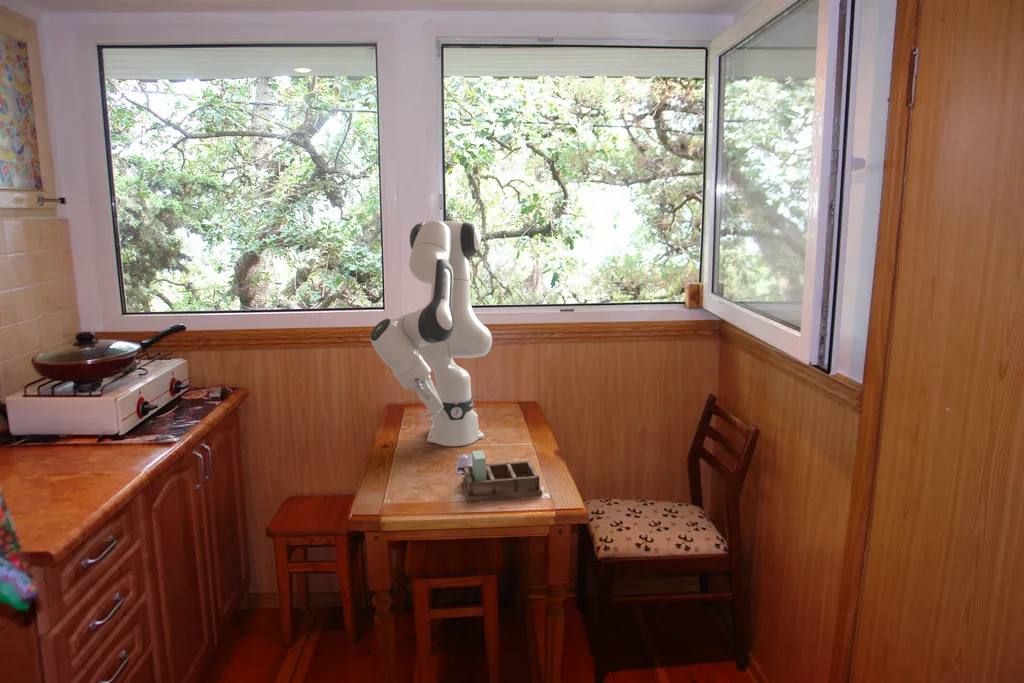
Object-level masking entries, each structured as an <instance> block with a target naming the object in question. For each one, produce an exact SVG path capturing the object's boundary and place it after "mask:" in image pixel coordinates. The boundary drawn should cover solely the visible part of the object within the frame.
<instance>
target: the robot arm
mask: <svg viewBox="0 0 1024 683" xmlns="http://www.w3.org/2000/svg"><path fill="white" fill-rule="evenodd" d="M481 239H482V238H481V233H480V229H479V226H477V224H476V223H475V222H471V221H467V220H465V221H458V220H457V221H456V220H444V221H439V220H429V221H427V222H420V223H417V224H415V225H414V226H413V227H412V228H411V231H410V234H409V244H410V245H409V246H410V249H411V252H410V255H409V257H410V258H409V261H408V262H409V264H408V265H409V270H410V272H411V273H412V275H413V276H414V277H415V278H416V279H417V280H419V281H420V282H422V283H425V284H427V285H431V290H430V299H429V300H430V301H429V302H428V303H427V304H425V306H424V307H423V308H421V309H417V310H415V311H412V312H409V313H407V314H405V315H401V316H400V317H397V318H385V319H383V320H381V321H379V322H378V323H377V324H376V325H375V326H374V327H373V329H372V330H371V331H370V335H369V339H370V342H371V345H372V347H373V349H374V350H375V352H376V354H377V355H378V356H379V358H380V359H381V360H382V361H383V363H384V364H385V365H386V366H388V367H389V368H390V369H391V371H392V374H393V376H394V378H396V379H397V381H398V382H399V383H400V385H401V386H402V387H403V389H405V390H411V392H416V394H417V395H418V397H419V399H420V400H421V402H422V403H423V405H424V406H425V407H426V408H427V410H428V411H429V412H430V414H431V415H433V416H431V417H430V424H431V427H430V429H429V433H428V436H427V437H426V438H427V439H426V442H428V443H433V444H437V445H440V446H444V447H460V446H461V447H462V446H467V445H471V444H473V443H475V442H476V441H478V440H481V439H484V438H485V434H484V433H483V432H482V431H481V430H480V429H479V420H478V419H479V418H478V417H479V415H478V413H476V412H475V410H473V408H474V407H473V406H474V401H473V397H472V381H471V380H472V378H471V376H470V373H469V372H468V371H467V370H466V369H464V368H462V367H461V366H459V365H458V364H456V362H455V361H454V359H455V358H459V359H473V358H475V359H476V358H480V357H484V356H487V354H488V353H489V352H490V351H491V348H492V346H493V336H492V332H490V330H489V328H488V327H487V326H485V325H484V324H483V323H482V322H481V320H479V318H477V316H476V314H475V312H474V310H473V306H472V301H471V300H472V299H471V298H472V297H471V270H470V269H471V268H470V261H471V259H472V257H473V256H475V255H476V254H477V253H478V252H479V250H480V247H481V242H482V241H481ZM432 371H433V373H434V377H435V382H436V387H435V384H434V382H433V380H432V379H431V378H432V376H431V375H430V374H431V373H432Z"/></svg>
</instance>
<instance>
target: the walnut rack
mask: <svg viewBox="0 0 1024 683" xmlns="http://www.w3.org/2000/svg"><path fill="white" fill-rule="evenodd" d="M461 479H462V485H464V486H463V489H464V491H465V496H466V495H467V496H466V498H467V502H468V503H469V502H472V503H480V502H479V501H483V502H491V501H493V502H494V501H501V500H503V499H504V500H513V499H522V498H523V497H524V498H533V497H532V496H535V497H542V496H543V490H542V488H541V486H540V476H539V474H538V473H537V471H536V469H535V467H534V465H533V464H532V462H531V460H524V461H523V460H522V461H511V462H502V463H501V462H500V463H490V464H487V463H486V481H475V482H473V471H472V466H464V474H463V476H462V478H461ZM541 495H542V496H541ZM524 498H523V499H524Z"/></svg>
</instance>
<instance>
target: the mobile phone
mask: <svg viewBox="0 0 1024 683" xmlns="http://www.w3.org/2000/svg"><path fill="white" fill-rule="evenodd" d="M457 459H458V460H457V461H456V469H455V470H456V472H455V473H456V474H457V473H458V474H457V475H461V474H460V473H464V466H472V453H460V454H458V456H457Z"/></svg>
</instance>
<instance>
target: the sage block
mask: <svg viewBox="0 0 1024 683" xmlns="http://www.w3.org/2000/svg"><path fill="white" fill-rule="evenodd" d="M471 454H472V471H473V482H475V481H486V465H487V458H486V456H485V453H484V450H483V449H482V450H472V451H471Z"/></svg>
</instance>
